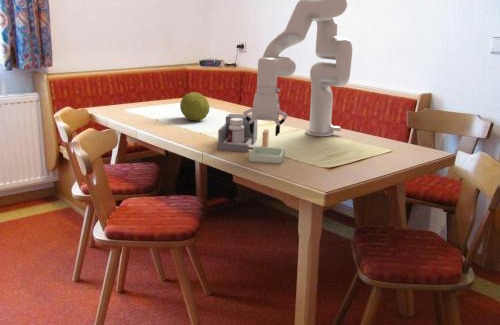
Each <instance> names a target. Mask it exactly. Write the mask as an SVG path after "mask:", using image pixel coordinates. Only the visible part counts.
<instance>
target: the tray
mask: <svg viewBox="0 0 500 325" xmlns="http://www.w3.org/2000/svg"><path fill="white" fill-rule="evenodd" d="M285 154H286V149H285V148H281V147H269V146H268V147H254V148H252V150H251V151H250V152H249V154H248V162H250V163H252V162H253V163H261V164H262V163H263V164H275V165H276V164H277V165H281V164H282V162H283V159H284V157H285Z"/></svg>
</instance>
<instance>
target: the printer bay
mask: <svg viewBox="0 0 500 325" xmlns="http://www.w3.org/2000/svg"><path fill="white" fill-rule="evenodd" d="M248 116H249V117H250V118H251V119H252V114H248ZM231 118H241V119H243V124H242V125H243V126H244V138H252V144H251V145H255V143H256V142H257V140H258V120H256V119H255V120H254V133H253V134H251V131H250V124H249V122H248V121H247V120H246V118H245V116H244V114H243V113H242V114H241V113H229V114H227V115H226V116H225V123H224V125H222V126H221V127H220V128H219V129H218V130H217V131H218V132H217V136H218V137H217V142H218V143H217V144H218V145H217V146H218V148H217V149H218V151H229V152H240V153H242V152H244V153H249V149H250V148H249V145H238V144H223V142H224V141H225V140H226V139H227V138H228V137H229V126H230V125H231V124H230V119H231ZM255 141H256V142H255Z"/></svg>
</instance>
